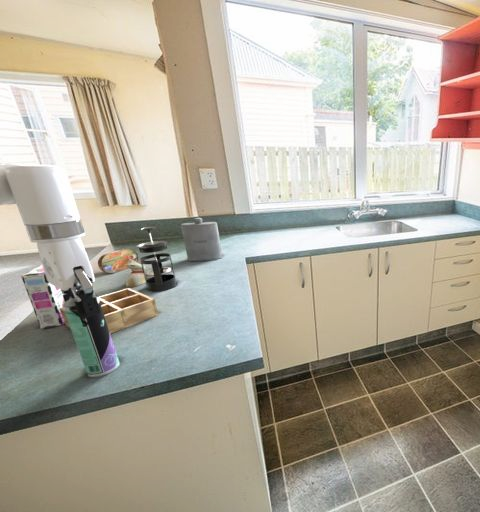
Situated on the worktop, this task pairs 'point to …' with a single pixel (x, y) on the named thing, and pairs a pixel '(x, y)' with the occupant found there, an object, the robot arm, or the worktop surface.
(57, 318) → the candy bar box
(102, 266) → the tin
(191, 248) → the flask
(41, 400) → the worktop surface
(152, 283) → the french press
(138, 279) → the chocolate bunny
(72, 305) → the spray can
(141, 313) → the tray
